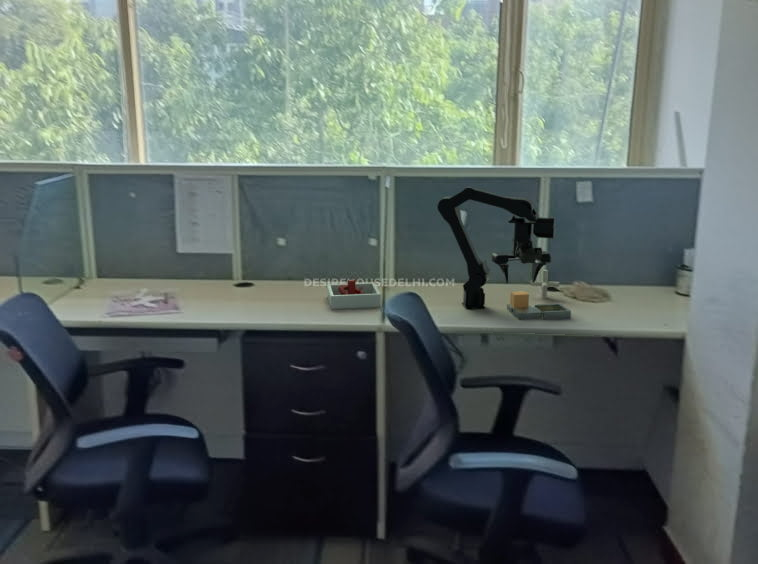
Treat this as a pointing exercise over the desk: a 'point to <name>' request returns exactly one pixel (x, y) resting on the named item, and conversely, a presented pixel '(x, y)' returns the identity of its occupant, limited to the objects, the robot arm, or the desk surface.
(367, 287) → the gear corral
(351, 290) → the red branched piece
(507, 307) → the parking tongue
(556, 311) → the sliding lid box
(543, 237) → the robot arm
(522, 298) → the block
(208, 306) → the desk surface
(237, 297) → the desk surface
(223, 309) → the desk surface
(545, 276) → the pipe connector
